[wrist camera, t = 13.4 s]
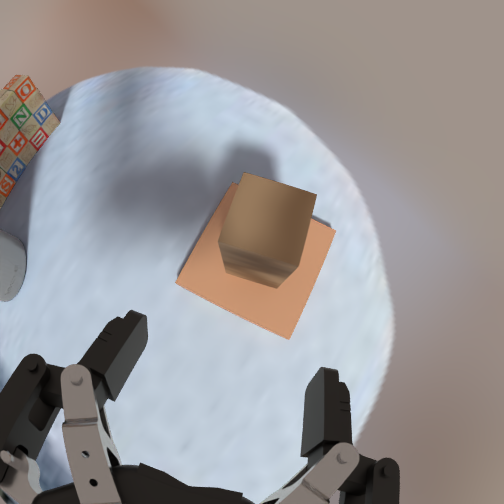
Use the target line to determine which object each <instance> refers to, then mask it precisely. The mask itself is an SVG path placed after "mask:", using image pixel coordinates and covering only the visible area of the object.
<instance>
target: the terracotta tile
mask: <svg viewBox="0 0 504 504" xmlns="http://www.w3.org/2000/svg"><path fill="white" fill-rule="evenodd" d="M238 186H239V185H238V184H236V183H233V182H232V184H231V186H230V187H229V189H228V191H227V192H226V194H225V196H224V197H223V199H222V201H221V202H220V204H219V206H218V207H217V209H216V211H215V212H214V214H213V216H212V218H211V219H210V221H209V223H208V225H207V226H206V228H205V230H204V232H203V233H202V235H201V237H200V239H199V240H198V242H197V244H196V246H195V247H194V249H193V251H192V253H191V255H190V256H189V258H188V260H187V262H186V264H185V266H184V267H183V269H182V271H181V273H180V275H179V277H178V279H177V280H176V282H175V283H176V284H178V285H179V286H181V287H183V288H185V289H187V290H189V291H190V292H192V293H194V294H196V295H198V296H200V297H202V298H204V299H206V300H207V301H209V302H211V303H213V304H215V305H217V306H219V307H221V308H223V309H225V310H227V311H229V312H231V313H233V314H235V315H237V316H239V317H241V318H243V319H245V320H247V321H249V322H251V323H253V324H256V325H258V326H260V327H262V328H264V329H266V330H268V331H270V332H273V333H275V334H277V335H279V336H281V337H283V338H286V339H288V340H289V339H290V337H291V335H292V333H293V331H294V329H295V327H296V324H297V322H298V320H299V318H300V316H301V314H302V311H303V309H304V307H305V305H306V302H307V300H308V298H309V296H310V293H311V291H312V289H313V286H314V284H315V282H316V279H317V277H318V275H319V272H320V270H321V268H322V265H323V263H324V260H325V258H326V255H327V253H328V250H329V248H330V245H331V243H332V240H333V238H334V235H335V233H336V230H334V229H332V228H330V227H328V226H326V225H324V224H322V223H320V222H318V221H316V220H314V219H312V218H311V221H310V225H309V229H308V233H307V237H306V241H305V245H304V249H303V253H302V256H301V260H300V264H299V267H298V268H297V269H296V270H295V271H294V272H293V273H292V274H291V275H290V276H289V277H288V278H287V279H286V280H285V281H284V282H283V283H282V284H281V285H280V286H279V287H278V288H277V289H275V288H272V287H269V286H266V285H262V284H259V283H256V282H253V281H250V280H246V279H243V278H240V277H237V276H234V275H231V274H228V273H226V271H225V267H224V264H223V260H222V256H221V252H220V248H219V244H218V239H219V236H220V233H221V231H222V228H223V225H224V223H225V220H226V217H227V214H228V212H229V209H230V207H231V204H232V201H233V199H234V196H235V193H236V191H237V188H238Z"/></svg>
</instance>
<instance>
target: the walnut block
mask: <svg viewBox="0 0 504 504" xmlns="http://www.w3.org/2000/svg"><path fill="white" fill-rule="evenodd" d="M316 196H317V194H314V193H311V192H308V191H305V190H302V189H299V188H295V187H292V186H289V185H286V184H283V183H279V182H276V181H273V180H269V179H266V178H263V177H259V176H256V175H252V174H249V173H245V172H244V173H243V175H242V178H241V181H240V183H239V186H238V188H237V191H236V193H235V196H234V199H233V201H232V204H231V207H230V209H229V212H228V214H227V217H226V220H225V223H224V225H223V228H222V231H221V233H220V236H219V239H218V244H219V248H220V252H221V256H222V260H223V264H224V267H225V271H226V273H228V274H231V275H234V276H237V277H240V278H243V279H246V280H250V281H253V282H256V283H259V284H262V285H266V286H269V287H272V288H275V289H277V288H278V287H279V286H280V285H281V284H282V283H283V282H284V281H285V280H286V279H287V278H288V277H289V276H290V275H291V274H292V273H293V272H294V271H295V270H296V269H297V268H298V267H299V264H300V260H301V256H302V253H303V249H304V245H305V241H306V237H307V233H308V229H309V225H310V221H311V217H312V213H313V209H314V205H315V201H316Z"/></svg>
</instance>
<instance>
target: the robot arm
mask: <svg viewBox="0 0 504 504" xmlns="http://www.w3.org/2000/svg"><path fill="white" fill-rule="evenodd" d="M25 270H26V254H25V249H24V246H23V244H22V242H21V241H20V240H19V239H18V238H16V237H15V236H13V235H11V234H9V233H7V232H5V231H3V230H1V229H0V301H4V302H6V301H10V300H12V299H13V298H14V297H15V296H16V295H17V293H18V292H19V290H20V288H21V286H22V283H23V280H24V275H25ZM147 340H148V329H147V316H146V315H144V314H141V313H138V312H136V311H133V310H130V311H129V312H128V313H127V314H126V316H125V317H124V318H120V317H116V318H115V319H113V320H111V321H110V322H108V324H107V325H106V326H105V328H104V329H103V331H102V332H101V333H100V334H99V336H98V338H96V340H95V341H94V342H93V344H92V345H91V346H90V348H89V349H88V351H87V352H86V353H85V355H84V356H83V357H82V359H81V360H80V361H79V362H78V363H77V364H73V365H69V366H68V367H66V368H64V367H58V366H54V365H50V364H46V362H45V360H44V359H43V358H42V357H41V356H40V355H38V354H29V355H27V356H25V357H24V358H23V360H22V361H21V362H20V364H19V365H18V367H17V368H16V370H15V371H14V373H13V374H12V376H11V377H10V379H9V380H8V382H7V383H6V385H5V386H4V388H3V390H2V391H1V393H0V488H1V489H2V490H3V491H5V492H6V493H7V494H8V495H9V496H11V497H12V498H13V499H14V500H16V501H17V502H18V503H19V504H255V503H253V502H252V501H250V500H248V499H247V498H245V497H242V495H243V493H240V492H235V491H230V490H225V489H221V488H212V487H192V486H188V485H186V484H184V483H182V482H180V481H179V480H177V479H175V478H174V477H172V476H170V475H169V474H167V473H165V472H163V471H160V470H158V469H155V468H153V467H150V466H148V465H145V464H143V463H140V465H139V466H137V465H122V463H121V460H120V457H119V454H118V451H117V449H116V446H115V444H114V442H113V439H112V435H111V431H110V427H109V423H108V419H107V415H106V411H105V406H104V404H105V402H106V401H107V399H110V400H112V401H114V402H115V400H116V398H117V397H118V395H119V393H120V391H121V389H122V388H123V386H124V384H125V382H126V380H127V379H128V377H129V375H130V373H131V372H132V370H133V368H134V366H135V364H136V363H137V361H138V359H139V358H140V356H141V354H142V352H143V351H144V349H145V347H146V344H147ZM61 408H62V409H64V416H65V422H63V424H62V431H63V437H64V443H65V448H66V453H67V457H68V461H69V466H70V470H71V473H72V477H73V481H74V482H72V483H69V484H66V485H63V486H60V487H57V488H54V489H50V490H47V491H42V490H41V488H40V485H39V477H40V470H39V467H38V465H37V463H36V462H35V461H36V459H37V456H38V454H39V452H40V450H41V448H42V445H43V443H44V441H45V439H46V437H47V435H48V433H49V431H50V429H51V427H52V425H53V423H54V421H55V419H56V417H57V415H58V413H59V411H60V409H61ZM350 411H351V408H350V393H349V390H348V388H347V386H346V384H345V383H344V382H339V374H338V370H336V369H331V368H325V367H321V368H320V369H319V370H318V371H317V373H316V374H315V376H314V377H313V378H312V380H311V381H310V383H309V384H308V386H307V389H306V392H305V402H304V419H303V432H302V445H301V456H300V457H308V463H307V464H306V465H305V466H304V467H303V468H302V469H301V470H300V471H299V472H298V473H297V474H296V475H294V476H293V477H292V478H291V479H290V480H289V481H288V482H287V483H286V484H284V485H283V486H282V487H281V488H280V489H279V490H277V491H276V492H274V493H273V494H271V495H270V496H268V497H267V498H266V499H265V500H263V501H262V502H261V503H259V504H329V503H330V501H329V499H330V497H331V496H332V495H333V494H334V493H335V492H336V490H339V491H340V498H339V504H399V491H400V490H399V489H400V473H399V472H400V470H399V466H398V464H397V463H396V461H394V460H393V459H391V458H383V459H381V460H379V461H376V460H373V459H371V458H367V457H365V456H362V455H361V454H359V453H358V451H357V449H356V448H355V447H354V446H353V443H352V428H351V413H350Z"/></svg>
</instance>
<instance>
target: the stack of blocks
mask: <svg viewBox="0 0 504 504" xmlns="http://www.w3.org/2000/svg"><path fill="white" fill-rule="evenodd" d="M59 124H60V122H59V120H58V119H57V117H56V116H55V114H54V113H53V112H52V110H51V109H50V107H49V106H48V104H47V103H46V101H45V99H44V98H43V96H42V94H41V93H40V91H39V90H38V88H36V87H35V85H34V84H33V82H32V81H31V79H30V77H29V76H25V75H15V76H14V77H13V78H12V79H11V81H10V82H9V83H8V84H7V85H6V86H5V87H4V88H3V89H1V90H0V209H1V207H2V205H3V204H4V202H5V200H6V198H7V196H8V195H9V193H10V191H11V190H12V188H13V187H14V185H15V183H16V181H17V180H18V178H19V177H20V175H21V174H22V172H23V171H24V169H25V168H26V166H27V165H28V163H29V162H30V160H31V159H32V158H33V156H34V155H35V154H36V152H37V151H38V150H39V149H40V147H41V146H42V145H43V143H44V142H45V141H46V140H47V138H48V137H49V136H50V135H51V133H52V132H53V131H54V130H55V129H56V127H57V126H58V125H59Z"/></svg>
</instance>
